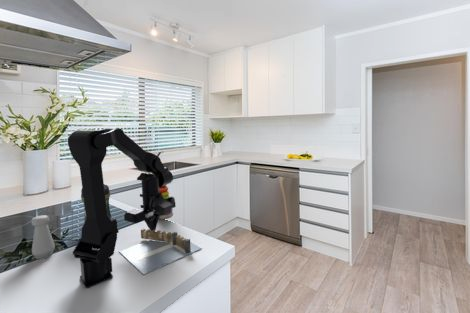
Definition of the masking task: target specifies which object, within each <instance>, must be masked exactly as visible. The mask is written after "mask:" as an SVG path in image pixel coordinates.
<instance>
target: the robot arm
mask: <svg viewBox="0 0 470 313" xmlns="http://www.w3.org/2000/svg"><path fill="white" fill-rule="evenodd" d="M67 145H68V148H69V149H68V150H69V152H70V155H71V157H72V158H73V160H74V161H75V162H76V163H77V165H78V167H79V171H80V172H79V173H80V180H81V181H80V182H81V187H82V188H81V190H82V189H83V196H84V203H83V205H84V204H85V211H86V221H85V223H84V222H83V225H82V227H81V237H80V239H79V241H78V242H77V243H76V246H75V247H74V249H73V251H72V255H73V256H74V258H75V259H79V264H80V273H81V274H80V275H79V279H80V281H81V282H82V284H83V285H84V287H85V288H86V289H89V288H90V287H93V286H96V285H98V284H100V283H103V282H105V281H108V280H109V279H112V278H114V276H113V273H112V272H113V262H112V256H114V254H115V249H116V243H117V241H118V233H119V229H118V220H117V219H116V218H112V217H111V218H109V216H108V214H107V207H106V199H105V190H104V183H105V182H104V175H103V167H102V166H103V161H104V159H105V157H106V155H107V148H108V147H111V146H113V147H115V148H116V149H118V150H119V151H120V152H121V153H122V154H124V155H126V156H127V157H128V158H130V159H131V160H132V162H133V165H134V166H135V167H136V169H137V170H138V171H140V172H141V173H140V175H138V176H137V178H136V180H137V181H141V193H139V197H141V198H142V204H140V208H141V210H139V209H135V208H134V209H131V210H128V211H126V212H125V213H124V218H123V219H124V221H125V222H129V223H133V224H139V223H140V222H142V221H144V223H145V224H146V226H147V227H148V229H150V231H152V230H155V231H156V229H157V226H158V223H159V220H160V219H159V217H160V216H161V215H165V214H166V213H170V212H171V209H173V208H176V200H175V197H174V196H170V197H169V198H168V199H167V198H163V196H162V193H161V192H159V187H162V186H164V185H166V186H167V185H169V184H171V183H172V182H173V180H174V175H173V174H172V172H171V170H169V167H168V166H167V167H166V166H164V165H163V164H164V163H162V161H161V158H160V157H159V156H158V155H157V154H155V153H152V152H149V151H146V150H145V149H143V148H142V147H141V146H140V145H139V144H138V143H137V142H135V141H134V140H133V139H132V138H130V137H129V136H128V135H127V134H126V133H125V132H124V130H123V129H122V128H119V127H106V128H101V129H98V130H94V129H93V130H92V129H91V130H75V131H73V132H72V133H70V135H69V136H68V138H67Z"/></svg>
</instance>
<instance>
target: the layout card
mask: <svg viewBox="0 0 470 313" xmlns="http://www.w3.org/2000/svg"><path fill="white" fill-rule="evenodd" d="M173 232H174V231H172V232H171V234H172V233H173ZM190 246H191V252H190V253H186V252H185V250H184V249H182V248H181V247H179V246H177V245H173V244H172V242H171V243H169V242H162V241H155V240H149V239H148V240H146V241H144V242H141V243H138V244H136V245H132V246H129V247H127V248H123V249H122V250H118V253H119V254H120V255H121V256H123V257H124V258H125V259H126V260H127V261H128V262H129V263H130V264H131V265H133V267H134V268H136V270H138V271H139V272H140V273H141V275H143V276H145V275H147V274H149V273H151V272H154V271H157V270H158V269H161V268H163V267H165V266H167V265H170V264H172V263H174V262H176V261H178V260H180V259H183V258H185V257H187V256H190V255H192V254H194V253H196V252H199V251H201V250H202V247H200V246H199V245H197V244H195V243H193V242H192V241H190Z"/></svg>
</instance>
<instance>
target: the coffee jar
mask: <svg viewBox="0 0 470 313" xmlns="http://www.w3.org/2000/svg"><path fill="white" fill-rule="evenodd" d="M104 190H105V199H106V207H107V214H108V216H109V218H112V215H111V208H110V197H111V191H110V187H109V185H107V184H104ZM80 192H81V194H80V199H81V201H82V203H83V207H84V209H83V210H84V217H83V219H84V220H83V224H84V223H85V221H86V211H85V204H84V196H83V189H82V188H81V191H80Z"/></svg>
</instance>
